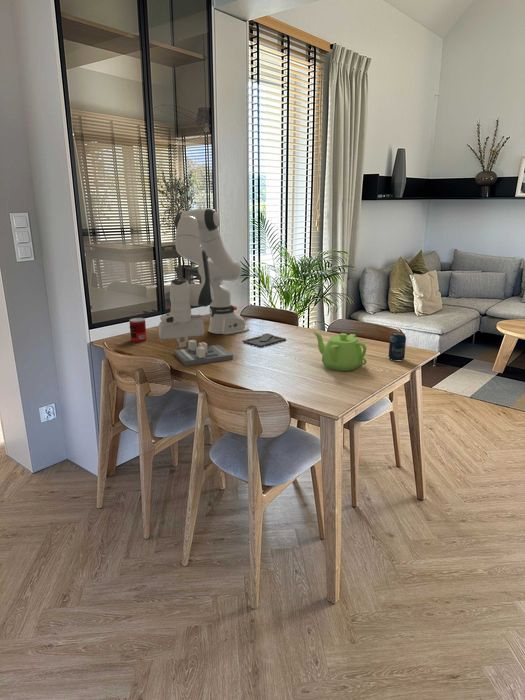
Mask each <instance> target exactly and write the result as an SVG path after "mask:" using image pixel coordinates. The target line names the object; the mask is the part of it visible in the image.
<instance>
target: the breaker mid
mask: <svg viewBox="0 0 525 700" xmlns="http://www.w3.org/2000/svg"><path fill="white" fill-rule="evenodd" d="M200 346H203V347H204V348H205V353H208V350H207V346H208V343H206V342H205V341H201V342H197V347H200Z"/></svg>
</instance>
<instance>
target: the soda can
mask: <svg viewBox="0 0 525 700" xmlns="http://www.w3.org/2000/svg"><path fill="white" fill-rule="evenodd" d="M406 342H407V337H406V333H404V332H400V331H394V332H393V331H392V332H391V334H390V336H389V345H388V358H389V360H390V359H392V360H402V361H403V360H405V355H406ZM392 360H391V361H392Z"/></svg>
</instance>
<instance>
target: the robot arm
mask: <svg viewBox="0 0 525 700" xmlns="http://www.w3.org/2000/svg"><path fill="white" fill-rule="evenodd" d="M173 223H174V224H173V225H174V227H175V229H176V231H175V240H174V241H175V243H174V244H175V251H176V252H177V254H178V255H180V257H182V258H183V259H185V260H187V261H190V262H192V263H194V264H196V265H197V273H198V274H199V276H200V279H201V283H189V279H186V278H183V277H181V278H180V277H178V278H174V279H172V280H171V281H170V286H169V287H170V288H169V301H170V303H171V306H170V311H169V312H167V313H165V314H162V315H160V322H159V324H158V337H159V338H160V340H169V339H175V340H176V341H177V343H178V347H179V348H185V347H187V344H188V340H189V338H190V337H197V336H204V335H205V325H204V323H205V317H204V315H202V314H192V307H191V306H195V307H197V306H198V307H206V308H207V307H208V306H209V316H210V317H209V318H210V319H209V327H208V330H207V331H208V332H209V333H212V334H216V335H217V334H218V335H226V336H227V335H232V334H233V335H234V334H238V333H245V332H248V331H250V327H249V326H248V325H246V323H245V322H246V321H245V319H244V318H243V317H242V316H241V315H240V314H238V313H237V312H235V311H237V309H238V306H236V305H232V304H231V303H232V302H231V299H232V297H231V290H230V288H228V287H227V286H226V285H225V284H224V282H223V281H225V282H226V281H229V282H230V281H236V280H237V281H238V279H239V278H241V276H242V273H243V268H242V266H241V263H240V262H239V261H237V260H236V259H234V258H233V257H232V256H231V254H230V253H229V252H228V251H227V250H226V248H225V245H224V242H223V240H222V236H221V234H220V230H219V226H220V217H219V213H218V211H217V210H216V209H214V208H211V207H207V208H194V209H190V210H186V211H180V212H178V213H177V214H176V215H175V217H174V222H173ZM181 338H184V339H183V342H181Z"/></svg>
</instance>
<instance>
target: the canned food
mask: <svg viewBox="0 0 525 700" xmlns="http://www.w3.org/2000/svg"><path fill="white" fill-rule="evenodd" d="M129 330H130V333H129V334H130V340H131V342H132V343H141V342H142V343H143V342H145V341H146V340H147V327H146V319H145V317H134V318H130V319H129Z"/></svg>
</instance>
